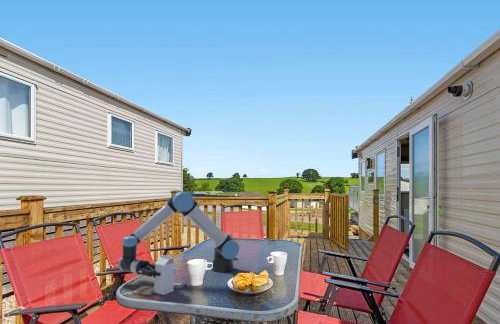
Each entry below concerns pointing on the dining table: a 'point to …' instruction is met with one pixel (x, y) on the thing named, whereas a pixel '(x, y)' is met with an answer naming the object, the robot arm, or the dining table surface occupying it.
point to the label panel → (178, 285)
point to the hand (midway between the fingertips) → (171, 273)
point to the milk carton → (167, 283)
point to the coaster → (144, 290)
